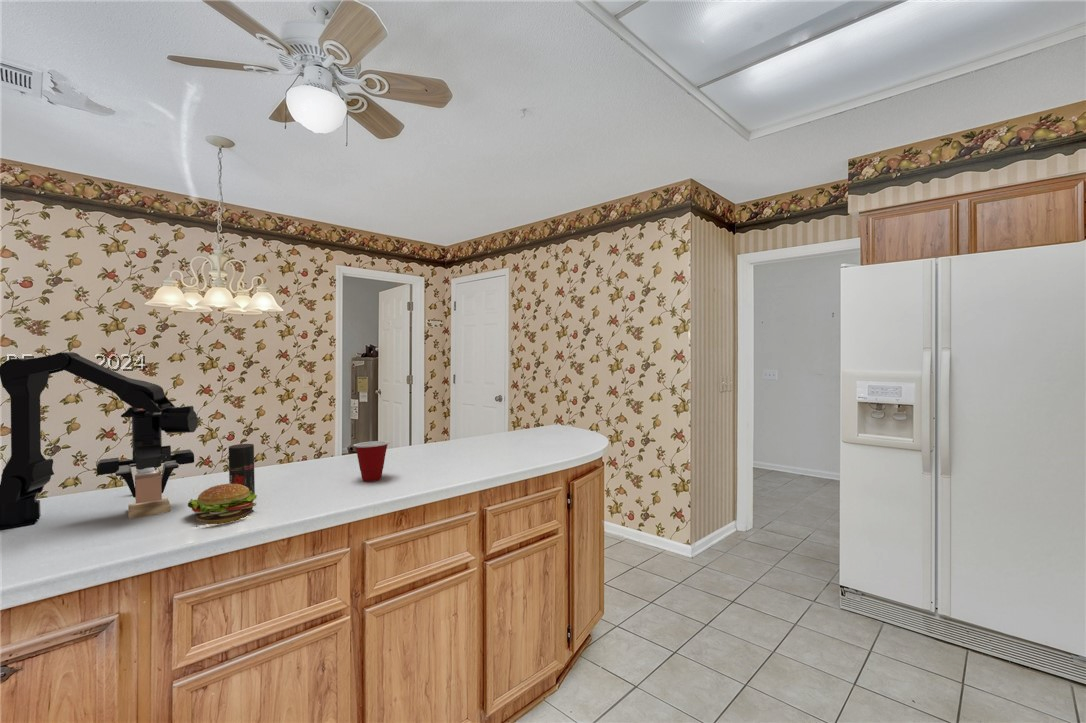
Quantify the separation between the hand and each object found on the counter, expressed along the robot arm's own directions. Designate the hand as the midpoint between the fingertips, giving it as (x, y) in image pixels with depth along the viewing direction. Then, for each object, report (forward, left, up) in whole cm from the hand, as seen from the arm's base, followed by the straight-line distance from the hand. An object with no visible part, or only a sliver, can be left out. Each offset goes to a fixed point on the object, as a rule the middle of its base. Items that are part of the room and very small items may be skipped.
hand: (148, 495), depth 121 cm
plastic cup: (+55, -6, -5) cm, 56 cm away
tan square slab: (0, 0, -4) cm, 4 cm away
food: (+14, -14, -5) cm, 21 cm away
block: (0, 0, -1) cm, 1 cm away
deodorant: (+20, -2, -5) cm, 21 cm away
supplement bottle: (0, +20, -5) cm, 21 cm away
